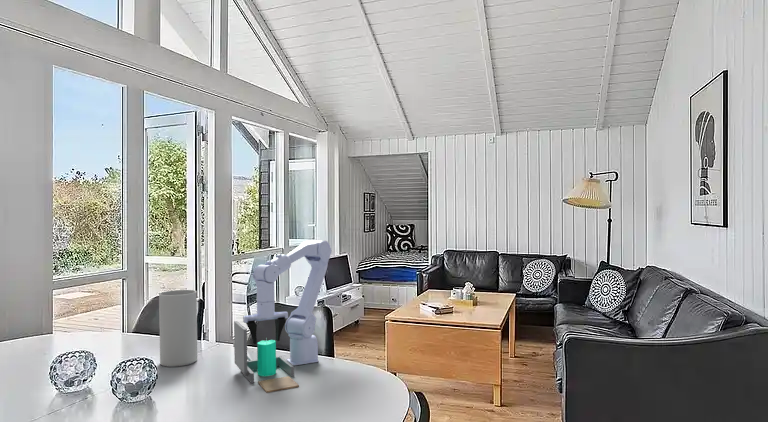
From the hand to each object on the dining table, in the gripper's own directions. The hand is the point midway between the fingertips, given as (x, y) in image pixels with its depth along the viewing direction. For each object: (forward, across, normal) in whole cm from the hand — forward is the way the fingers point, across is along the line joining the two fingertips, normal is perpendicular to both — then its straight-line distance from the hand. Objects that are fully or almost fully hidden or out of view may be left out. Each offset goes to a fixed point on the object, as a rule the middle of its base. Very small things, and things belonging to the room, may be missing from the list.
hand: (266, 341), depth 171 cm
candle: (+11, 0, 0) cm, 11 cm away
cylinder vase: (+11, +24, -29) cm, 39 cm away
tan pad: (+10, 0, +13) cm, 17 cm away
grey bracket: (+10, +1, -1) cm, 10 cm away
